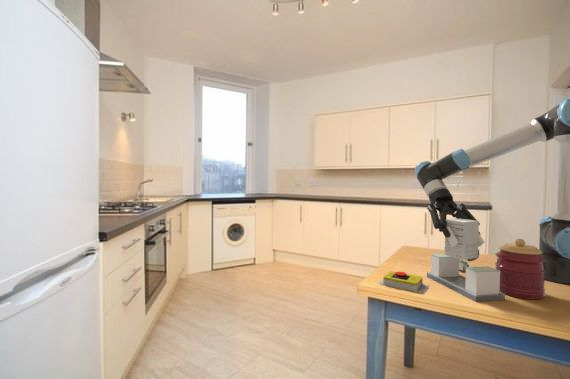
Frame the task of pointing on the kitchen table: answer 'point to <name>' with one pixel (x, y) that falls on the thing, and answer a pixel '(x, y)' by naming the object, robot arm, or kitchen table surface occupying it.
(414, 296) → the kitchen table surface
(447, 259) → the grey module pair
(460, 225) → the grey ridged module
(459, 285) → the mounting rail
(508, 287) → the canister
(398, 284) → the emergency button
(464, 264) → the pneumatic valve
